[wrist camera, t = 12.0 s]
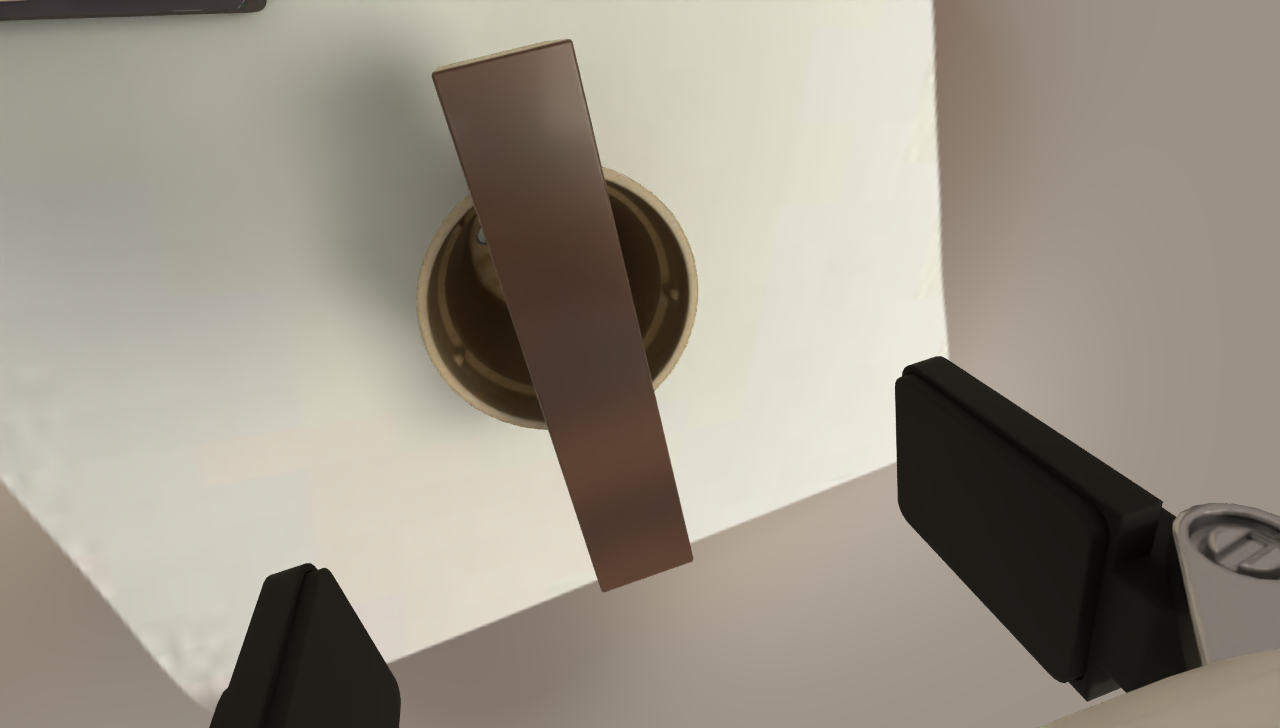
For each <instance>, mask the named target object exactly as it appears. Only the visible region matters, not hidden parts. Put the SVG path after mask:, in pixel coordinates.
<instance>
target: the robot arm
mask: <svg viewBox="0 0 1280 728" xmlns="http://www.w3.org/2000/svg"><path fill="white" fill-rule="evenodd" d="M895 405H896V445H897V486H898V504H899V507H900V510H901V512H902V515H903V516H904V518H905V519H906V521H907V522H908V523H909V524H910V525H911V526H912V527H913V528H914V530H916V532H917V533H918V534H919V535H920V536H921V537H922V538H923V539H924V540H925V541H926V542H927V543H928V545H929V546H930V547H931V548H932V549H933V550H934V551H935V552H936V553H937V554H938V555H939V556H940V557H941V558H942V560H943V561H944V562H946V564H947V565H948V566H949V567H950V568H951V569H952V570H953V571H954V572H955V573H956V575H957V576H959V578H960V579H961V580H962V581H963V582H964V583H965V584H966V585H967V586H968V587H969V588H970V589H971V591H972V592H973V593H974V594H975V595H976V596H977V597H978V598H979V599H980V600H981V601H982V602H983V604H984V605H985V606H986V607H987V608H988V609H989V610H990V611H991V612H992V613H993V614H994V615H995V616H996V617H997V618H998V619H999V621H1000V622H1001V623H1002V624H1003V625H1004V626H1005V627H1006V628H1007V629H1008V630H1009V631H1010V632H1011V634H1013V636H1014V637H1015V638H1016V639H1017V640H1018V641H1019V642H1020V643H1021V644H1022V645H1023V646H1024V647H1025V648H1026V650H1027V651H1028V652H1029V653H1030V654H1031V655H1032V656H1033V657H1034V658H1035V659H1036V660H1037V661H1038V662H1039V664H1040V665H1042V667H1043V668H1044V669H1045V670H1046V671H1047V672H1048V673H1049V674H1050V675H1051V676H1052V677H1053V678H1054V679H1056V680H1058V681H1059V682H1062V683H1066V682H1069V683H1070V684H1071V685H1072V686H1073V687H1074V688H1075V689H1076V690H1077V692H1079V693H1080V695H1081V696H1083V698H1084V699H1085V700H1086V701H1090V700H1092V699H1095V698H1097V697H1100V696H1102V695H1105V694H1107V693H1109V692H1112V691H1114V690H1117V689H1119V688H1122V689H1123V690H1124V691H1125V692H1126V694H1123V695H1120V696H1118V697H1115V698H1113V699H1110V700H1107V701H1105V702H1102V703H1100V704H1097V705H1094V706H1092V707H1089V708H1087V709H1084V710H1081V711H1079V712H1076V713H1074V714H1071V715H1068V716H1066V717H1063V718H1061V719H1058V720H1056V721H1053V722H1051V723H1048V724H1046V725H1044V726H1041V727H1039V728H1280V516H1278V515H1275V514H1272V513H1269V512H1266V511H1263V510H1260V509H1257V508H1253V507H1248V506H1243V505H1237V504H1228V503H1225V504H1224V503H1209V504H1203V505H1196V506H1193V507H1191V508H1189V509H1187V510H1185V511H1183V512H1181V513H1180V514H1179V515H1178V516H1177V517H1176V516H1174V515H1173V514H1171V513H1170V512H1168V511H1167V510H1165V509H1164V508H1162V503H1163V502H1162V501H1161V500H1160V499H1158V498H1157V497H1155V496H1154V495H1152V494H1151V493H1149V492H1148V491H1146V490H1144V489H1143V488H1142V487H1140V486H1139V485H1137V484H1135V483H1134V482H1132V481H1131V480H1129V479H1128V478H1126V477H1125V476H1123V475H1122V474H1120V473H1119V472H1117V471H1116V470H1114V469H1113V468H1111V467H1110V466H1108V465H1107V464H1105V463H1104V462H1102V461H1101V460H1099V459H1098V458H1096V457H1095V456H1093V455H1091V454H1090V453H1088V452H1087V451H1085V450H1084V449H1082V448H1081V447H1079V446H1078V445H1076V444H1075V443H1073V442H1072V441H1070V440H1069V439H1067V438H1066V437H1064V436H1063V435H1061V434H1059V433H1058V432H1057V431H1055V430H1053V429H1052V428H1051V427H1049V426H1048V425H1046V424H1044V423H1043V422H1041V421H1040V420H1038V419H1037V418H1035V417H1034V416H1032V415H1031V414H1029V413H1028V412H1026V411H1025V410H1023V409H1022V408H1020V407H1019V406H1017V405H1016V404H1014V403H1013V402H1011V401H1010V400H1008V399H1006V398H1005V397H1004V396H1002V395H1000V394H999V393H997V392H996V391H994V390H993V389H991V388H990V387H988V386H987V385H985V384H984V383H982V382H980V381H979V380H978V379H976V378H975V377H973V376H972V375H970V374H969V373H967V372H966V371H964V370H963V369H961V368H960V367H958V366H956V365H955V364H953V363H952V362H950V361H949V360H947V359H946V358H944V357H941V356H936V357H933V358H930V359H927V360H924V361H921V362H918V363H915V364H912V365H909V366H907V367H905V368H904V370H903V372H902V377H900V378H898V379H897V380H896V383H895ZM400 706H401V699H400V692H399V687H398V684H397V681H396V679H395V677H394V676H393V674H392V672H391V671H390V669H389V667H388V666H387V664H386V662H385V661H384V659H383V657H382V656H381V654H380V652H379V651H378V649H377V647H376V646H375V644H374V643H373V641H372V639H371V638H370V636H369V634H368V633H367V631H366V629H365V628H364V626H363V624H362V623H361V621H360V619H359V618H358V616H357V614H356V613H355V611H354V609H353V608H352V606H351V604H350V603H349V601H348V599H347V598H346V596H345V594H344V593H343V591H342V589H341V588H340V586H339V585H338V583H337V581H336V580H335V578H334V576H333V575H332V573H331V572H330V571H329V570H328V569H327V568H322V569H319V570H317V568H316V567H315V566H314V565H312V564H311V563H306V564H303V565H300V566H297V567H294V568H291V569H288V570H284V571H281V572H278V573H275V574H272V575H270V576H268V577H267V578H266V580H265V581H264V583H263V586H262V589H261V592H260V595H259V598H258V601H257V604H256V607H255V610H254V613H253V616H252V619H251V622H250V625H249V628H248V631H247V633H246V636H245V639H244V642H243V645H242V648H241V651H240V654H239V657H238V660H237V663H236V666H235V669H234V672H233V675H232V678H231V681H230V684H229V687H228V688H227V689H226V690H225V691H224V692H223V694H222V696H221V698H220V700H219V702H218V704H217V707H216V710H215V713H214V715H213V718H212V721H211V724H210V727H209V728H399V721H400Z"/></svg>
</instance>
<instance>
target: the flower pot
mask: <svg viewBox="0 0 1280 728" xmlns="http://www.w3.org/2000/svg"><path fill="white" fill-rule="evenodd" d="M602 170H603V174H604V179H605V183H606V187H607V191H608V196H609V200H610V204H611V209H612V213H613V217H614V221H615V226H616V230H617V234H618V239H619V243H620V247H621V251H622V256H623V260H624V264H625V268H626V273H627V277H628V281H629V286H630V290H631V294H632V298H633V303H634V307H635V311H636V316H637V320H638V324H639V328H640V333H641V337H642V341H643V345H644V350H645V354H646V358H647V363H648V367H649V371H650V375H651V380H652V384H653V388H654V391H655V390H656V389H657V388H658V387H659V385H660V384H661V383H662V382H663V381H664V380H665V379H666V378H667V376H668V375H669V374H670V373H671V371H672V370H673V369H674V367H675V365H676V364H677V363H678V361H679V359H680V357H681V355H682V353H683V351H684V349H685V347H686V345H687V344H688V340H689V337H690V335H691V331H692V328H693V325H694V320H695V316H696V311H697V301H698V279H697V272H696V266H695V260H694V256H693V253H692V251H691V248H690V245H689V243H688V240H687V238H686V236H685V234H684V232H683V230H682V228H681V226H680V224H679V223H678V221H677V220H676V218H675V217H674V215H673V214H672V213H671V212H670V210H669V209H668V208H667V207H666V206H665V205H664V203H662V202H661V201H660V200H659V199H658V198H657V197H656V196H655V195H653V194H652V193H651V192H650V191H649V190H647V189H646V188H645V187H643V186H642V185H641V184H639V183H637V182H635V181H634V180H632V179H630V178H628V177H626V176H624V175H622V174H620V173H618V172H615V171H613V170H610V169H607V168H604V167H602ZM480 228H481V225H480V222H479V219H478V216H477V213H476V210H475V207H474V204H473V201H472V198H471V195H470V194H469V195H467V196H466V197H465V198H464V199H463V200H462V201H461V202H460V203H459V204H458V205H457V206H456V207H455V208H454V209H453V210H452V211H451V212H450V214H449V215H448V216H447V217H446V219H445V220H444V221H443V223H442V224H441V226H440V227H439V228H438V230H437V231H436V233H435V235H434V237H433V238H432V240H431V243H430V245H429V247H428V249H427V251H426V254H425V257H424V260H423V263H422V266H421V270H420V274H419V280H418V286H417V296H416V298H417V316H418V322H419V327H420V331H421V335H422V339H423V342H424V345H425V347H426V350H427V352H428V355H429V356H430V359H431V361H432V363H433V365H434V366H435V368H436V369H437V371H438V372H439V373H440V375H441V376H442V378H443V379H444V380H445V381H446V383H447V384H448V385H449V386H450V387H451V388H452V389H453V390H454V391H455V392H456V393H457V394H458V395H459V396H460V397H461V398H463V399H464V400H465V401H467V402H468V403H469V404H470V405H471V406H473V407H474V408H476V409H478V410H480V411H481V412H483V413H485V414H488V415H490V416H491V417H495V418H497V419H499V420H501V421H503V422H507V423H511V424H513V425H518V426H521V427H526V428H534V429H544V430H548V428H547V424H546V421H545V418H544V415H543V412H542V409H541V406H540V403H539V400H538V397H537V394H536V391H535V388H534V385H533V382H532V379H531V376H530V373H529V370H528V367H527V364H526V361H525V358H524V355H523V352H522V349H521V346H520V343H519V340H518V337H517V334H516V331H515V328H514V325H513V322H512V319H511V316H510V313H509V310H508V306H507V303H506V300H505V297H504V294H503V291H502V288H501V285H500V282H499V279H498V276H497V273H496V270H495V267H494V264H493V261H492V258H491V255H490V252H489V249H488V246H487V244H483V243H480V242H479V240H478V233H479V230H480Z"/></svg>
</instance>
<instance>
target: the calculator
mask: <svg viewBox="0 0 1280 728" xmlns="http://www.w3.org/2000/svg"><path fill="white" fill-rule="evenodd" d="M265 5H266V0H0V21H7V20H38V19H68V18H98V17H129V16H159V15H189V14H220V13H246V12H257V11H260V10H262V9H263V8H264V7H265Z"/></svg>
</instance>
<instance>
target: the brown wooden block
mask: <svg viewBox="0 0 1280 728" xmlns="http://www.w3.org/2000/svg"><path fill="white" fill-rule="evenodd" d="M432 80H433V83H434V86H435V89H436V92H437V95H438V98H439V101H440V104H441V107H442V110H443V113H444V116H445V119H446V122H447V125H448V128H449V131H450V134H451V137H452V140H453V143H454V146H455V149H456V152H457V155H458V158H459V161H460V164H461V167H462V170H463V173H464V176H465V179H466V182H467V185H468V188H469V191H470V195H471V198H472V201H473V204H474V207H475V210H476V213H477V216H478V219H479V222H480V225H481V228H482V231H483V234H484V237H485V240H486V243H487V246H488V249H489V252H490V255H491V258H492V261H493V264H494V267H495V270H496V273H497V276H498V279H499V282H500V285H501V288H502V291H503V294H504V297H505V300H506V303H507V306H508V310H509V313H510V316H511V319H512V322H513V325H514V328H515V331H516V334H517V337H518V340H519V343H520V346H521V349H522V352H523V355H524V358H525V361H526V364H527V367H528V370H529V373H530V376H531V379H532V382H533V385H534V388H535V391H536V394H537V397H538V400H539V403H540V406H541V409H542V412H543V415H544V418H545V421H546V424H547V428H548V431H549V434H550V437H551V440H552V443H553V446H554V449H555V452H556V455H557V458H558V461H559V464H560V467H561V470H562V473H563V476H564V479H565V482H566V485H567V488H568V491H569V494H570V497H571V500H572V503H573V506H574V509H575V512H576V515H577V518H578V521H579V524H580V527H581V530H582V533H583V536H584V539H585V543H586V546H587V549H588V552H589V555H590V558H591V561H592V564H593V567H594V570H595V573H596V576H597V579H598V582H599V585H600V588H601V591H602V592H607V591H610V590H612V589H615V588H618V587H621V586H624V585H627V584H630V583H632V582H635V581H638V580H641V579H644V578H647V577H649V576H652V575H655V574H658V573H661V572H664V571H667V570H669V569H672V568H675V567H678V566H681V565H683V564H686V563H689V562H692V561H693V556H692V551H691V546H690V542H689V538H688V534H687V529H686V525H685V521H684V517H683V512H682V508H681V504H680V499H679V495H678V491H677V487H676V482H675V478H674V474H673V469H672V465H671V461H670V457H669V452H668V448H667V444H666V440H665V435H664V431H663V427H662V422H661V418H660V414H659V410H658V405H657V401H656V397H655V393H654V388H653V384H652V380H651V375H650V371H649V367H648V363H647V358H646V354H645V350H644V345H643V341H642V337H641V333H640V328H639V324H638V320H637V316H636V311H635V307H634V303H633V298H632V294H631V290H630V286H629V281H628V277H627V273H626V268H625V264H624V260H623V256H622V251H621V247H620V243H619V239H618V234H617V230H616V226H615V221H614V217H613V213H612V209H611V204H610V200H609V196H608V191H607V187H606V183H605V179H604V174H603V170H602V166H601V162H600V157H599V153H598V149H597V144H596V140H595V136H594V132H593V127H592V123H591V119H590V114H589V110H588V106H587V102H586V97H585V93H584V89H583V85H582V80H581V76H580V72H579V67H578V63H577V59H576V55H575V50H574V46H573V42H572V41H571V40H570V39H564V40H554V41H544V42H540V43H536V44H532V45H528V46H524V47H520V48H515V49H511V50H507V51H503V52H499V53H495V54H491V55H487V56H482V57H478V58H474V59H470V60H466V61H462V62H458V63H454V64H449V65H445V66H441V67H438V68H437V69H436V70H435V71H434V72H433V73H432Z"/></svg>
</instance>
